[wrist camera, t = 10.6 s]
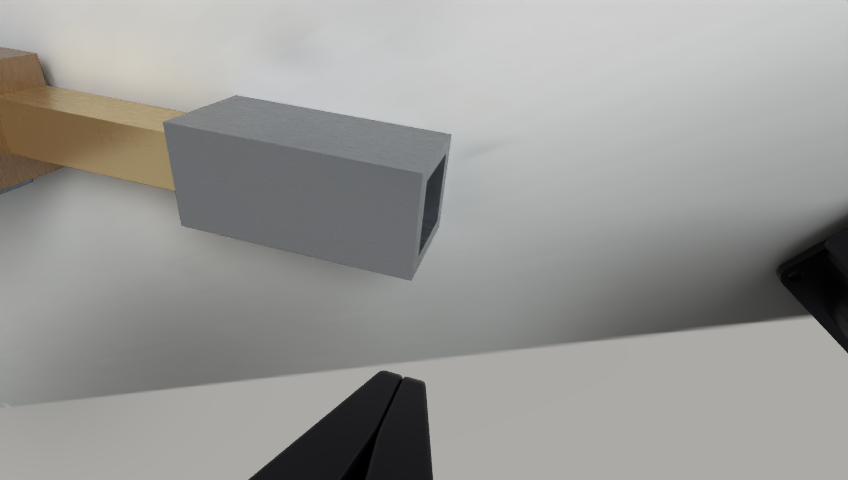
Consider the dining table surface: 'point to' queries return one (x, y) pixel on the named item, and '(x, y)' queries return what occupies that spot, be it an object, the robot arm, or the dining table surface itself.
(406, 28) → the dining table surface
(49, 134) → the upright wooden plank
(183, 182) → the outer sleeve
